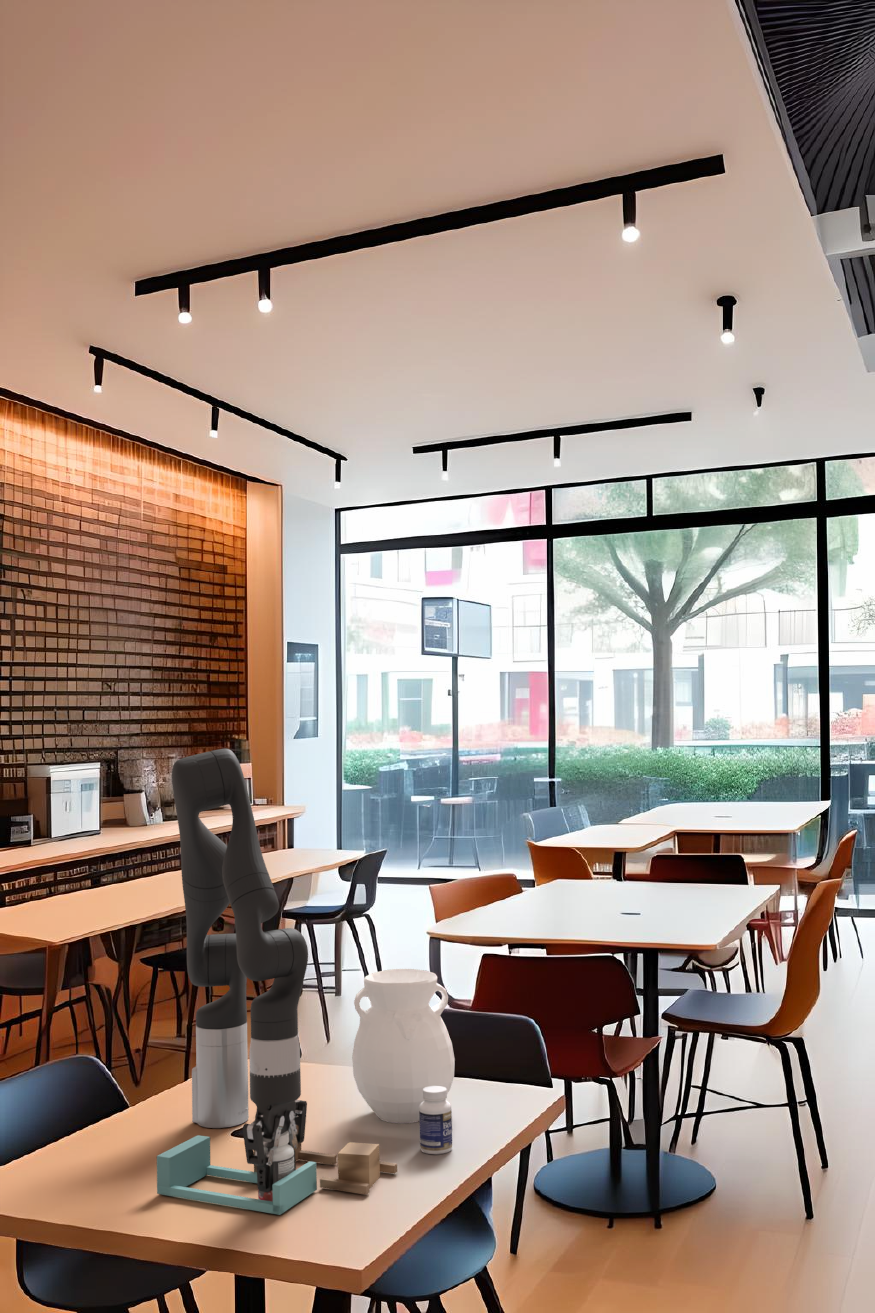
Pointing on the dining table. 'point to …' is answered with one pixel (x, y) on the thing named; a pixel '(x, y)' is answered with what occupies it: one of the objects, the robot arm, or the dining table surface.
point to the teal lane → (194, 1164)
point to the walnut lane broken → (332, 1159)
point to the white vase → (401, 1043)
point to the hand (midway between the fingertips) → (277, 1183)
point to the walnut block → (359, 1163)
